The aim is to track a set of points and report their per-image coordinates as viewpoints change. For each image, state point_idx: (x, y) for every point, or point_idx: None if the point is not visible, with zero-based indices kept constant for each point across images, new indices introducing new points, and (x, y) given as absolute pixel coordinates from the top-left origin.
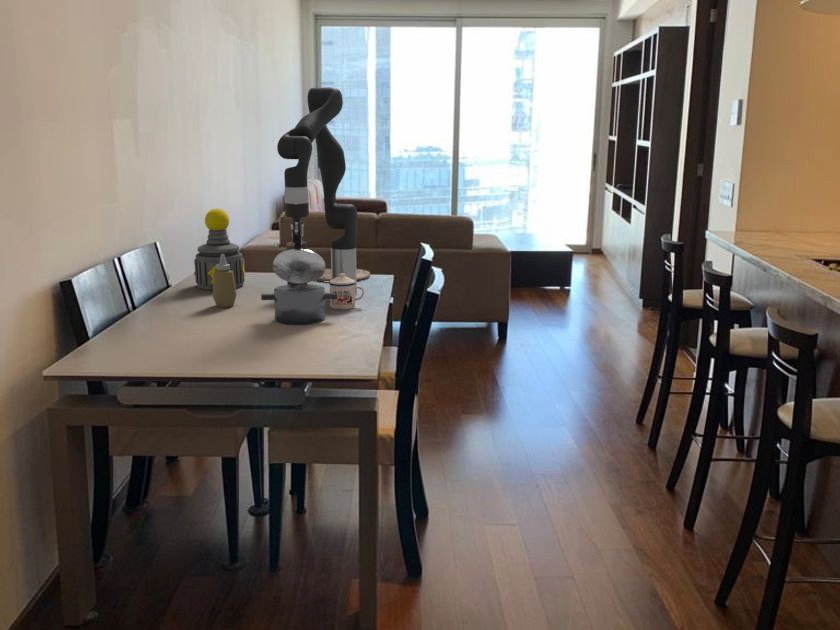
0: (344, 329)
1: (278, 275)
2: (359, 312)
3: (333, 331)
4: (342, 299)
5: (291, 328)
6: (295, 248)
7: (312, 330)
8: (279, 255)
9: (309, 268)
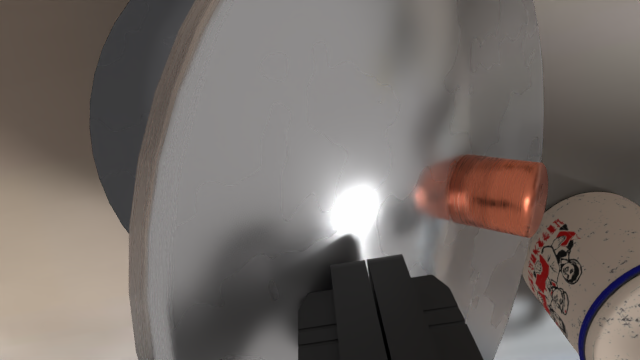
0: (121, 329)
1: None
2: None
3: (73, 294)
4: (541, 289)
5: (78, 89)
6: (340, 355)
7: (65, 202)
8: (194, 34)
9: None
